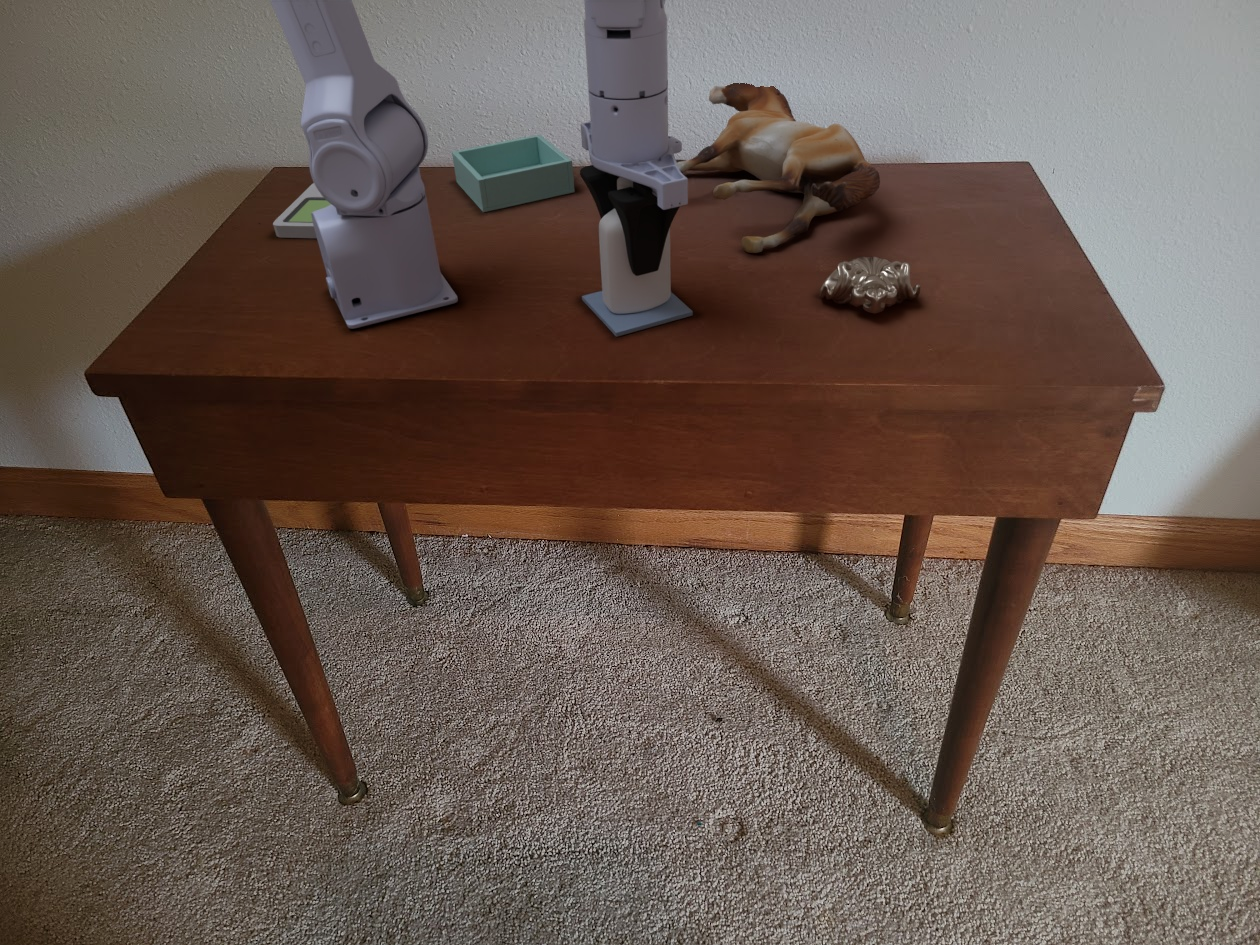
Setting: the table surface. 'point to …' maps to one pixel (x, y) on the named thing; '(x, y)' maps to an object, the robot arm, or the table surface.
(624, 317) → the pad
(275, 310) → the table surface
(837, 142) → the horse figurine
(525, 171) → the box
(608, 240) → the eye dropper bottle
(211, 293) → the table surface
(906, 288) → the ornament
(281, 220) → the handheld gaming console
